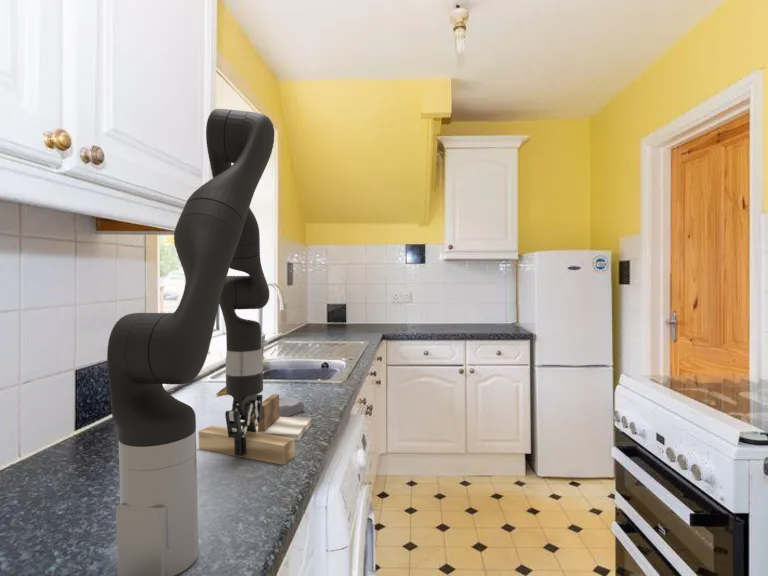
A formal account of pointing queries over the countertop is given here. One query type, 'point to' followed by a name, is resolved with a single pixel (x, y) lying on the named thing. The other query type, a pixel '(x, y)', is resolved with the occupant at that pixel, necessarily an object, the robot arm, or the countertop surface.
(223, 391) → the shard
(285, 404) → the stone block
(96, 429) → the countertop surface
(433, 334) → the countertop surface
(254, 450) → the oak batten
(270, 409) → the stand
